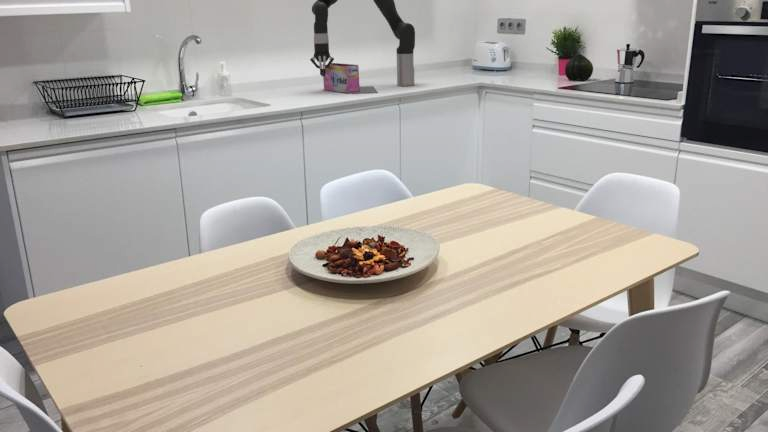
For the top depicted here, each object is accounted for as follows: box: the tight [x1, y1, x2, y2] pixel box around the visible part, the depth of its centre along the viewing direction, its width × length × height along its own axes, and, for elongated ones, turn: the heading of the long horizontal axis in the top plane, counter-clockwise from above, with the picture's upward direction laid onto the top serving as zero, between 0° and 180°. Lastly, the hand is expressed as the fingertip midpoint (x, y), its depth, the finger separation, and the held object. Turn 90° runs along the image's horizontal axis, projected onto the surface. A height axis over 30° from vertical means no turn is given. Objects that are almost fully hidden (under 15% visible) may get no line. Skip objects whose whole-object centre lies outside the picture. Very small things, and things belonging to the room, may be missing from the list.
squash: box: [564, 53, 594, 82], centre depth 379 cm, size 14×15×15 cm
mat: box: [351, 85, 378, 95], centre depth 364 cm, size 13×26×1 cm, turn 6°
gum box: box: [322, 62, 361, 94], centre depth 361 cm, size 24×8×14 cm, turn 39°
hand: (322, 76), depth 359 cm, fingers closed
